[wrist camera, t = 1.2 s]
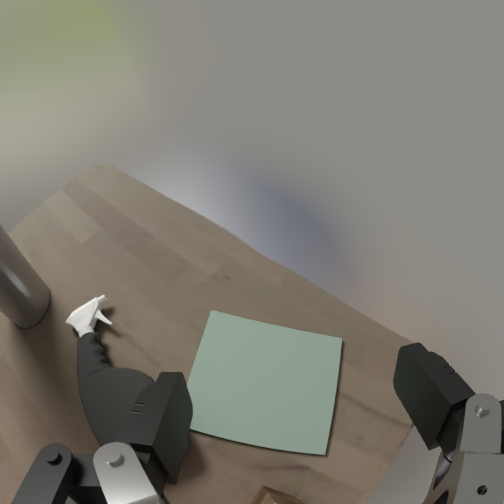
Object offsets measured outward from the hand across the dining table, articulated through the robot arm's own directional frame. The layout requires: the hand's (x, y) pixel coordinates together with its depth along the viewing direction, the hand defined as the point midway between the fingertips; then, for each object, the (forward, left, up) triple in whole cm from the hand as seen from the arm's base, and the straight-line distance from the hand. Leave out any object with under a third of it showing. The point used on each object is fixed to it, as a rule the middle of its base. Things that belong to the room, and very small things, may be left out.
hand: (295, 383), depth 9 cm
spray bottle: (-18, -1, -25) cm, 30 cm away
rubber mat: (0, +5, -25) cm, 25 cm away
